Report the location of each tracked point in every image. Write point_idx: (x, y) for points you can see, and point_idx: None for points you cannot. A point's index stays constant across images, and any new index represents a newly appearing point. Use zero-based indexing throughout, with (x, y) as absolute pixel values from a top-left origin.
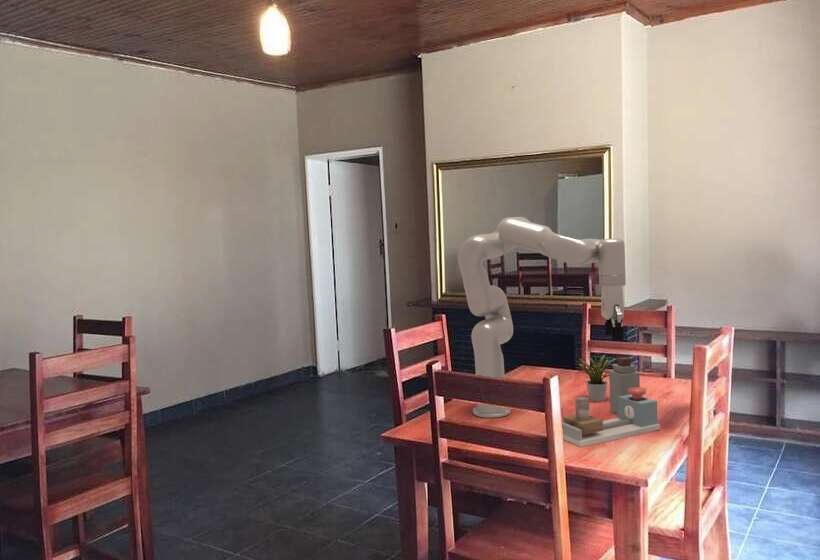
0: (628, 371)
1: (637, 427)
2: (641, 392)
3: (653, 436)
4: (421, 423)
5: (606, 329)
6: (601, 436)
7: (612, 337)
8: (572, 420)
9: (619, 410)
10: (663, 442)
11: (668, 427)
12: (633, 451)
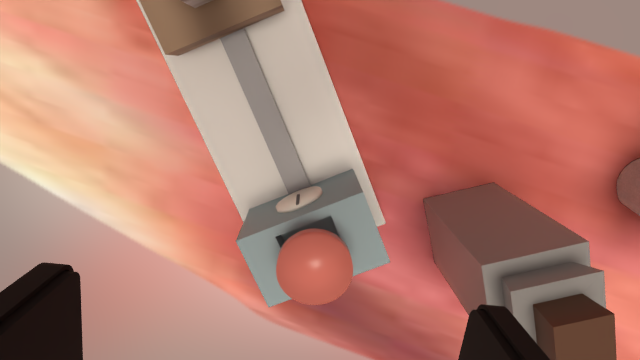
0: None
1: (248, 195)
2: (277, 273)
3: (207, 221)
4: None
5: (502, 357)
6: None
7: (22, 282)
8: None
9: (351, 178)
10: (149, 228)
11: None
12: (71, 116)
